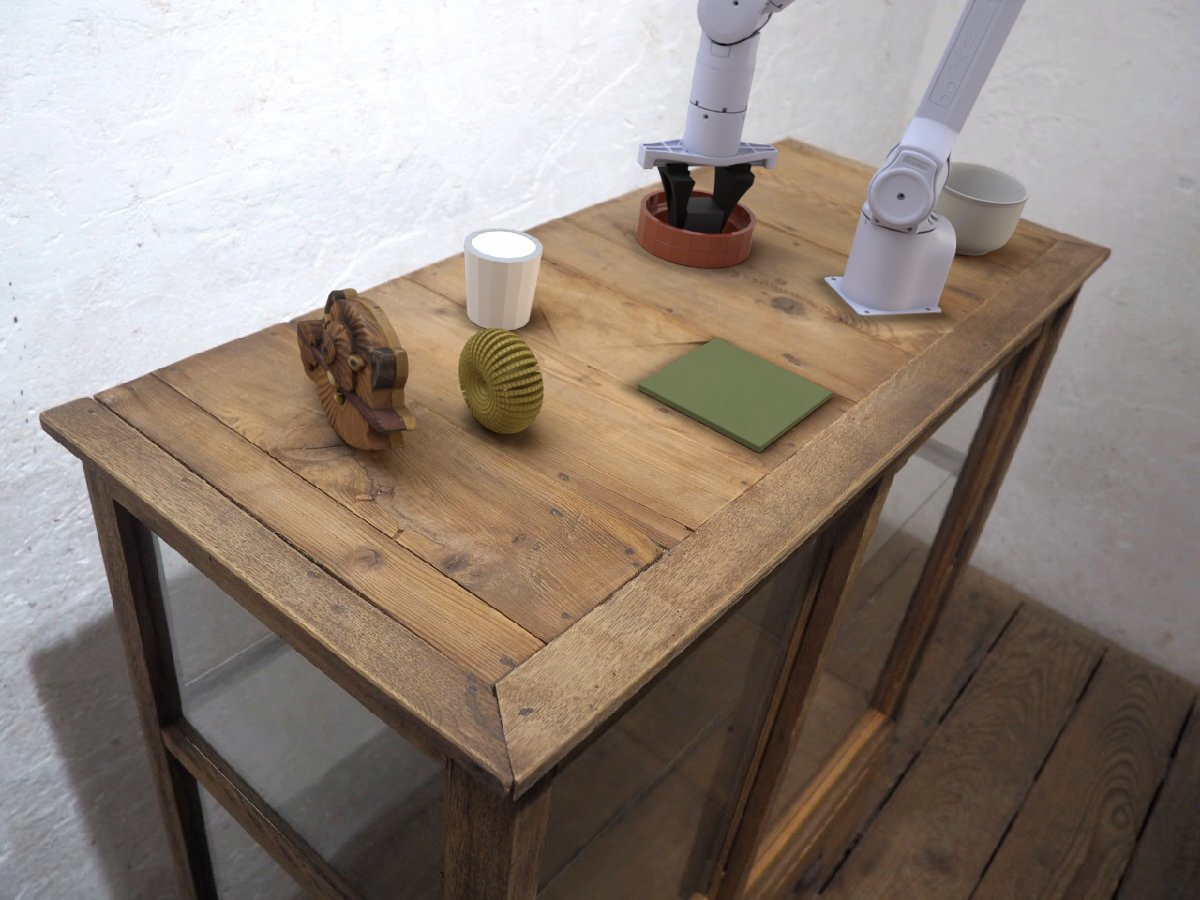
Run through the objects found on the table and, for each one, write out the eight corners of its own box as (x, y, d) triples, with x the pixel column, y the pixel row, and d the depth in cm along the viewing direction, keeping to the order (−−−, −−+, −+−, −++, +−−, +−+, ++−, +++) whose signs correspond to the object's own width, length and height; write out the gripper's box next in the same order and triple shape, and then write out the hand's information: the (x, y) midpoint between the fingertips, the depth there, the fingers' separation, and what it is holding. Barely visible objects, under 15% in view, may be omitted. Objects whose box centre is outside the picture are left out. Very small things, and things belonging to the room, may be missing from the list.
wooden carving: (276, 381, 82) (267, 264, 76) (330, 367, 84) (326, 253, 79) (378, 496, 72) (377, 372, 66) (436, 477, 74) (440, 355, 69)
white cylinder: (525, 340, 91) (532, 267, 87) (450, 324, 92) (453, 251, 88) (544, 305, 97) (551, 235, 93) (473, 291, 98) (477, 221, 94)
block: (703, 231, 114) (709, 196, 111) (717, 247, 110) (724, 212, 108) (668, 232, 112) (674, 197, 110) (682, 248, 109) (688, 212, 107)
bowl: (722, 221, 118) (728, 187, 116) (767, 270, 109) (775, 235, 107) (620, 223, 115) (624, 188, 112) (657, 274, 105) (664, 237, 103)
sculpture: (446, 407, 82) (449, 316, 77) (488, 393, 84) (494, 304, 79) (506, 460, 77) (513, 367, 72) (549, 444, 79) (559, 352, 75)
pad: (715, 342, 95) (716, 336, 95) (831, 397, 90) (833, 391, 89) (636, 389, 87) (637, 383, 87) (758, 453, 82) (760, 446, 81)
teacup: (1017, 245, 123) (1041, 180, 118) (992, 275, 115) (1018, 206, 110) (904, 209, 128) (923, 145, 124) (873, 235, 120) (893, 167, 116)
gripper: (767, 91, 108) (741, 215, 116) (635, 88, 104) (618, 217, 112) (797, 115, 103) (768, 243, 111) (659, 112, 98) (639, 246, 106)
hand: (694, 232), depth 111 cm, fingers closed on block, 4 cm apart
